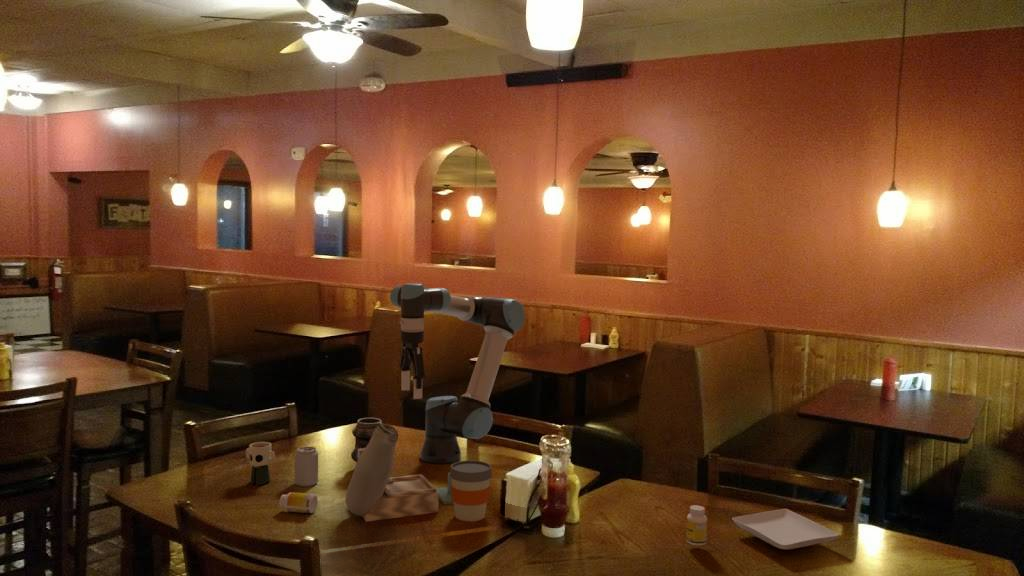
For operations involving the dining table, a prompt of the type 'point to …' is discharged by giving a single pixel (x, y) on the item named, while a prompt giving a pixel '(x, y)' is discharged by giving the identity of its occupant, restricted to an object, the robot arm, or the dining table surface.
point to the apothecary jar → (363, 434)
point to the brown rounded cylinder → (372, 471)
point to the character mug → (260, 461)
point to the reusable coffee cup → (470, 489)
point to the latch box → (405, 499)
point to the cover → (445, 492)
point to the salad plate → (785, 529)
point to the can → (306, 466)
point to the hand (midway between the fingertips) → (411, 394)
